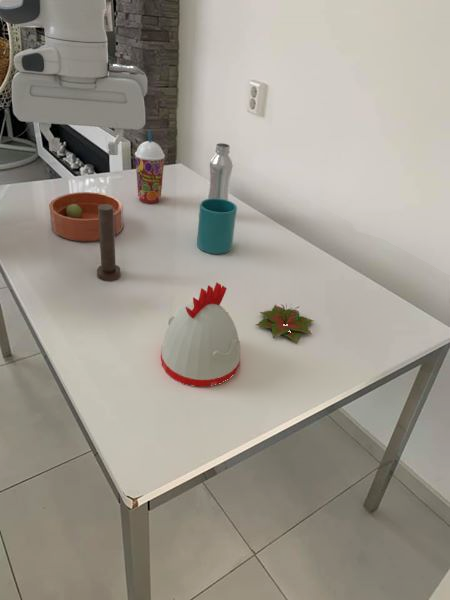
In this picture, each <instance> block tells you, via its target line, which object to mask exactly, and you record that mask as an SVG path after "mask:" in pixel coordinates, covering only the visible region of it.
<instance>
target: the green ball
mask: <svg viewBox="0 0 450 600" xmlns="http://www.w3.org/2000/svg"><path fill="white" fill-rule="evenodd" d="M66 214H67V216H68V217H70V218H77V219H79V218H80V217H81V215H82V209H81V208H80V207H79V206H78V205H76V204H71V205H69V206H68V207H67V209H66Z"/></svg>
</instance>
